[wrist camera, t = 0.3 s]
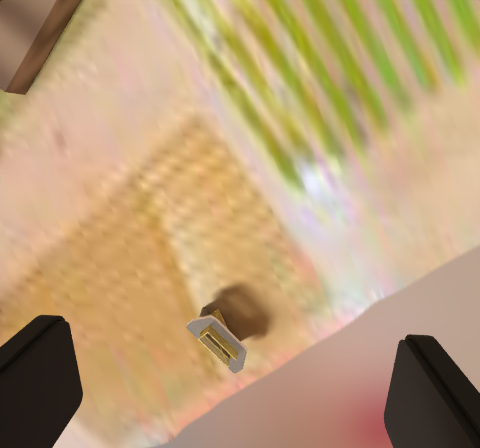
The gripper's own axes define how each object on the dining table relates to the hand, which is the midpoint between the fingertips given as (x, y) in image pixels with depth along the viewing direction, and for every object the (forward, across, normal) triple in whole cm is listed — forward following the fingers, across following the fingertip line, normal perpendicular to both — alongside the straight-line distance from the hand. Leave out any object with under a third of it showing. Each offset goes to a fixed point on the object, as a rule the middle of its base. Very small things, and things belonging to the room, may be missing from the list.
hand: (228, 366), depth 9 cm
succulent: (+32, +4, +21) cm, 38 cm away
